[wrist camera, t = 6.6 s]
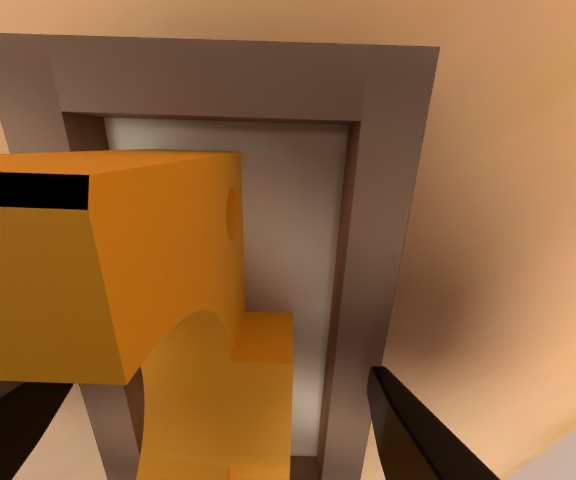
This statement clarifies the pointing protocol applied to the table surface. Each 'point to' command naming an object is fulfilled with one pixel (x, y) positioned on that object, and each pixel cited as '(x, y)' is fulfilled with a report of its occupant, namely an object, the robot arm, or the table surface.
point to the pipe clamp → (147, 302)
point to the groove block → (256, 193)
